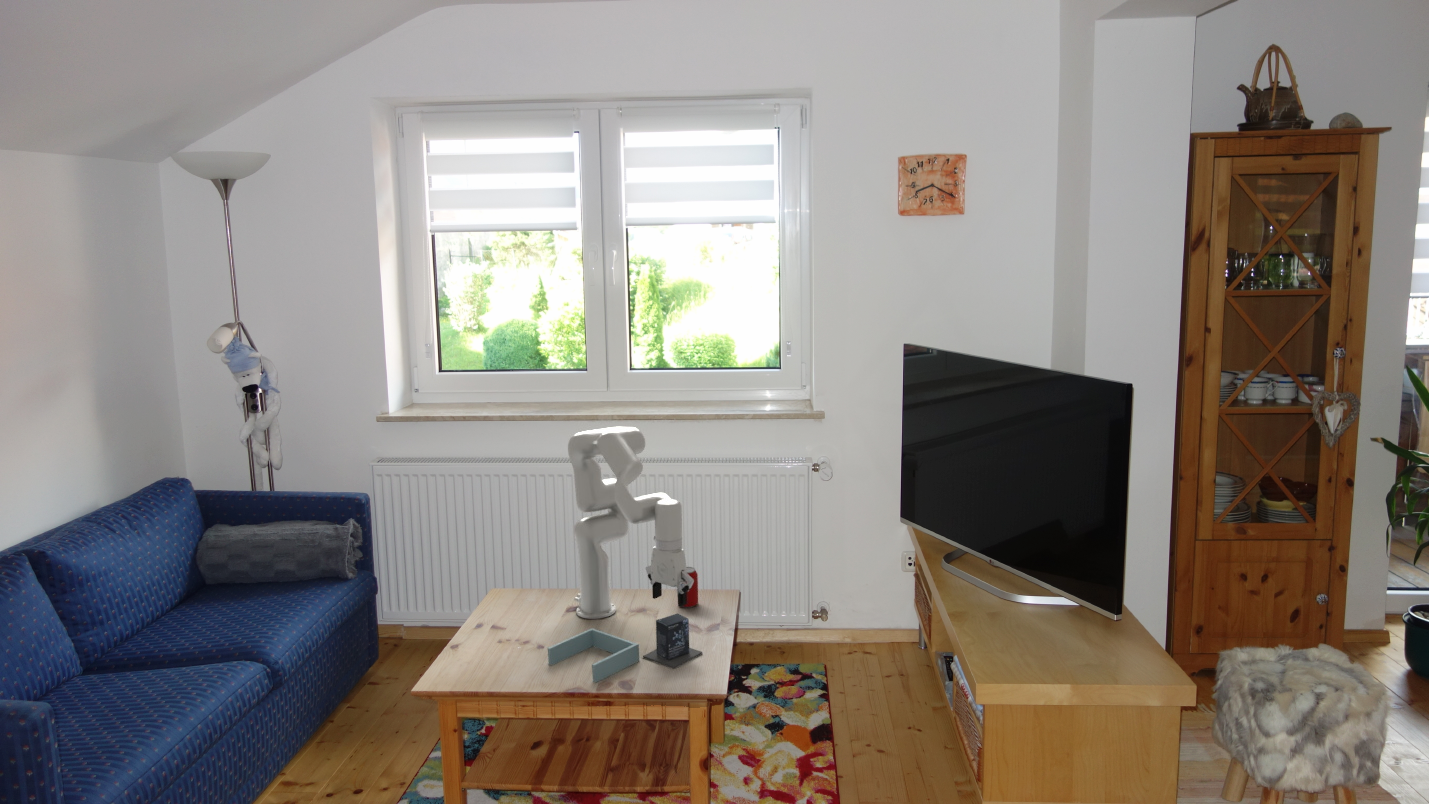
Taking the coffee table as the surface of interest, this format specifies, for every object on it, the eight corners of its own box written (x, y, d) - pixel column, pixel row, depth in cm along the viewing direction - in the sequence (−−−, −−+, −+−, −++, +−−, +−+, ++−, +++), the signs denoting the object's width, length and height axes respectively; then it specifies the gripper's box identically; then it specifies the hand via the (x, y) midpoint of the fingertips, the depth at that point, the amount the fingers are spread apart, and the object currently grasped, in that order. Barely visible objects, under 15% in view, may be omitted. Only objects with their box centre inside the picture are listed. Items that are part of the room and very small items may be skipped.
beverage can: (677, 601, 308) (676, 566, 306) (697, 600, 308) (696, 565, 306) (678, 609, 301) (677, 573, 299) (699, 607, 302) (698, 572, 300)
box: (667, 661, 262) (666, 625, 260) (656, 654, 266) (654, 619, 264) (690, 653, 266) (689, 618, 265) (678, 647, 271) (677, 612, 269)
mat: (643, 657, 266) (642, 655, 266) (671, 643, 275) (671, 641, 275) (674, 668, 258) (674, 666, 258) (702, 653, 267) (702, 651, 267)
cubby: (548, 664, 263) (547, 647, 262) (592, 643, 276) (592, 627, 275) (595, 682, 251) (594, 665, 250) (639, 660, 264) (638, 643, 263)
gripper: (637, 540, 264) (638, 597, 267) (683, 553, 253) (684, 613, 256) (655, 533, 270) (656, 590, 273) (701, 546, 259) (701, 604, 262)
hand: (669, 601), depth 264 cm, fingers open, 9 cm apart
